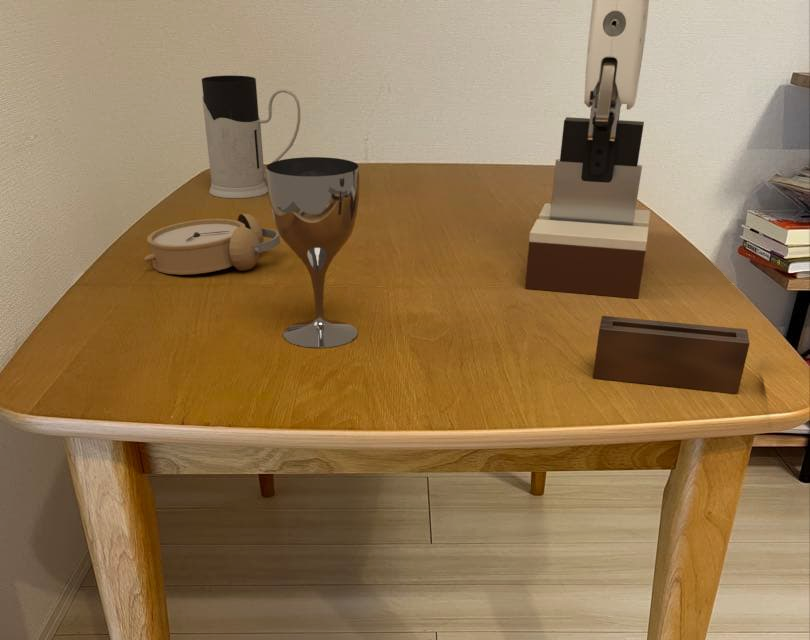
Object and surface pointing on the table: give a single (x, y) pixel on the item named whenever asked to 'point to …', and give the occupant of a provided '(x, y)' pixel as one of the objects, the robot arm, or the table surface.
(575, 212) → the dough scraper
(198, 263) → the alarm clock
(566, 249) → the cake near
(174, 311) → the table surface
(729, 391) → the block
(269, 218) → the table surface
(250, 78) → the glass holder
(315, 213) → the wine glass
